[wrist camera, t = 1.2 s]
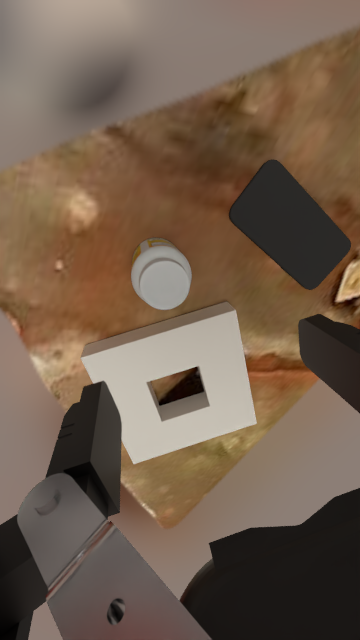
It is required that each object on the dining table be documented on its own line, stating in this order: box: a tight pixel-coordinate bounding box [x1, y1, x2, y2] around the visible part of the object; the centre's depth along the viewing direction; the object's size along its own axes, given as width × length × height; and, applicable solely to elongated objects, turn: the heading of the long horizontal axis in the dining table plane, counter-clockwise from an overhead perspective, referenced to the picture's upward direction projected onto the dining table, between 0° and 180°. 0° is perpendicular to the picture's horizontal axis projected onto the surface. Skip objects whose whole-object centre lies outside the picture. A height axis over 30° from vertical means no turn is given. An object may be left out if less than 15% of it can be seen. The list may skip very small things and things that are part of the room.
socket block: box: [81, 302, 257, 464], centre depth 35 cm, size 18×18×3 cm
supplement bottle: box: [131, 238, 192, 310], centre depth 25 cm, size 5×5×10 cm
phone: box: [229, 160, 351, 290], centre depth 30 cm, size 7×1×15 cm
